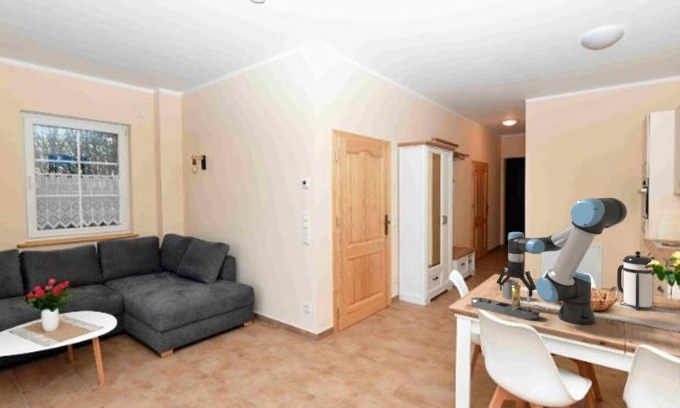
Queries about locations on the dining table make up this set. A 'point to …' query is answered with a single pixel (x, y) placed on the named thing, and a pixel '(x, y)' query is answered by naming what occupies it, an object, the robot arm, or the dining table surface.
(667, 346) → the dining table surface
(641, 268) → the coffee press
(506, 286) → the cup
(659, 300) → the dining table surface
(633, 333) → the dining table surface
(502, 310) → the long dark plank
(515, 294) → the pin
